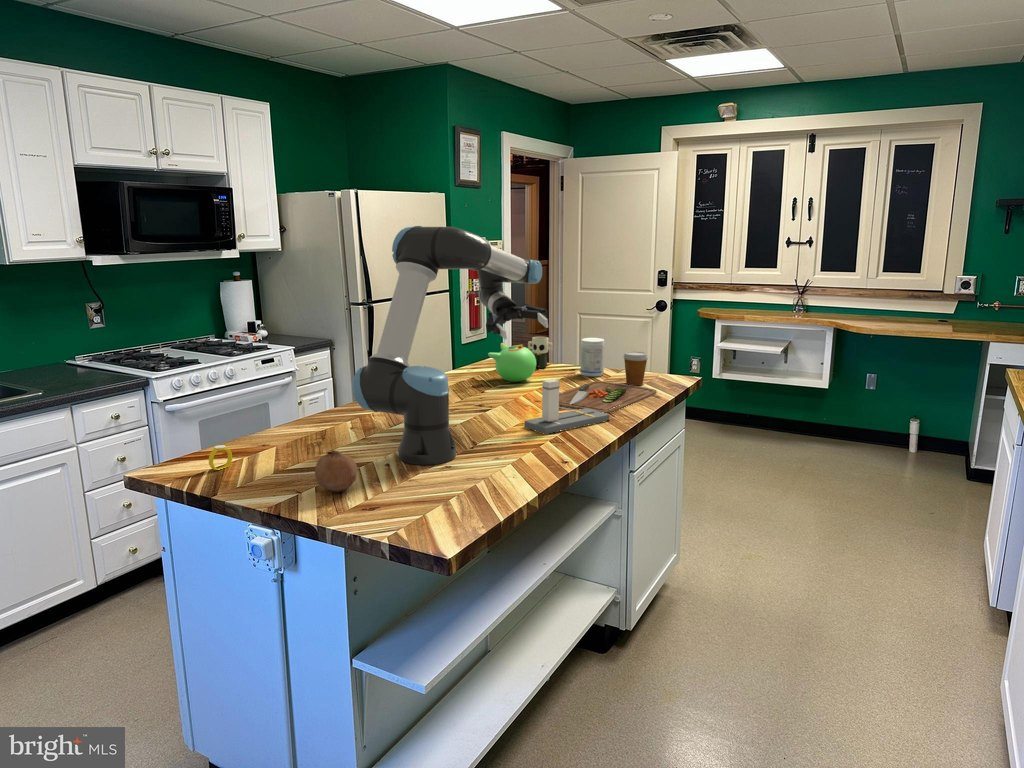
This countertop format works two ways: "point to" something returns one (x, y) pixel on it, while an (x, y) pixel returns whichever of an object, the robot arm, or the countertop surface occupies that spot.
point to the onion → (335, 471)
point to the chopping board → (603, 396)
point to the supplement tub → (592, 357)
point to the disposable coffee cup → (635, 367)
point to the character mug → (540, 350)
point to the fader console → (567, 421)
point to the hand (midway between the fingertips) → (526, 329)
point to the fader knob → (550, 400)
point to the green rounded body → (514, 362)
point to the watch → (216, 449)
